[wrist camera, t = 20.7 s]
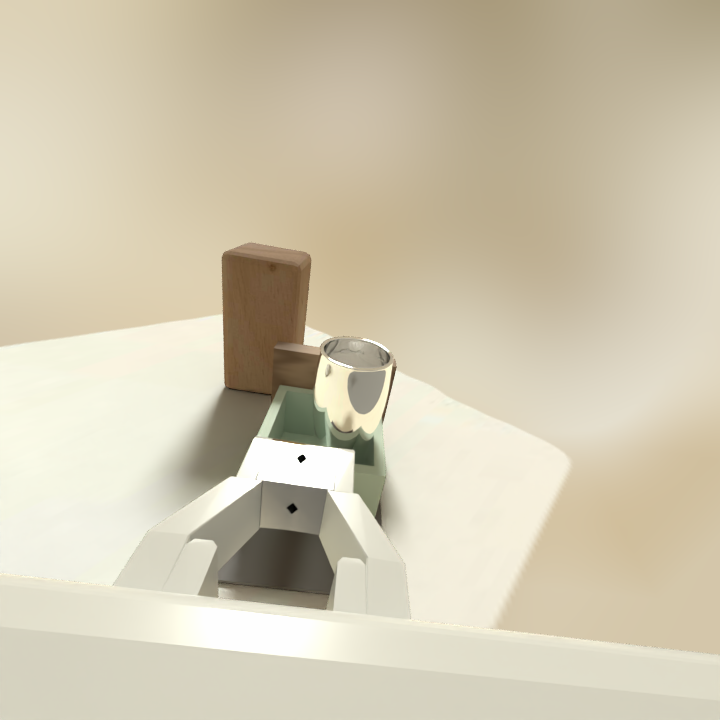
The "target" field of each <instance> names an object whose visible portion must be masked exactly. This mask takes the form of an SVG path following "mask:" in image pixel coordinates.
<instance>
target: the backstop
mask: <svg viewBox="0 0 720 720" xmlns="http://www.w3.org/2000/svg"><path fill="white" fill-rule="evenodd" d="M319 353H320V347H313V346H307V345H301V344H294V343H288V342H281V341H278V342H277V344H276V345H275V347H274V357H273V375H272V394H271V404H272V402H273V399H274V397H275V395H276V393H277V390H278V388H279V386H280V385H284V386H291V387H297V388H304V389H311V390H313V384H314V378H315V372H316V367H317V362H318V358H319ZM395 371H396V361H395V359H394V361H393V364H392V371H391V379H390V385H389V391H388V396H387V400H386V404H385V408H384V411H383V414H382V425H383V421H384V417H385V413H386V408H387V404H388V400H389V396H390V392H391V388H392V384H393V380H394V376H395ZM375 519H376V521H377V522H378V524H379V525H380V527H381V510H380V501H379V504H378V508H377V512H376V515H375ZM334 575H335V574H334V572H333V569H332V567H331V565H330V562H329V560H328V557H327V555H326V552H325V550H324V547H323V545H322V543H321V540H320V538H319V535H316V534H310V533H303V532H297V531H291V530H282V529H272V528H262V527H259V530H258V531H257V532H256V533H255V534H254V535H253V536H252V537H251V538H250V539H249V540H248V541H247V542H246V543H245V544H244V545H243V546H242V547H241V548H240V549H239V550H238V551H237V552H236V553H235V554H234V555H233V556H232V557H231V558H230V559H229V560H228V561H227V562H226V563H225V564H224V565H223V567H222V568H221V569H220V570H219V571H218V582H222V583H231V584H240V585H248V586H257V587H266V588H275V589H284V590H293V591H302V592H311V593H320V594H329V595H330V591H331V587H332V583H333V579H334Z"/></svg>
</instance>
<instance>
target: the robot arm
mask: <svg viewBox="0 0 720 720" xmlns="http://www.w3.org/2000/svg"><path fill="white" fill-rule="evenodd" d="M354 465H355V451H354V450H350V449H342V448H338V449H337V448H333V447H326V446H319V445H312V444H304V443H298V442H293V441H287V440H281V439H275V438H273V439H272V438H267V437H261V436H255V437H254V439H253V440H252V442H251V445H250V447H249V449H248V451H247V453H246V456H245V458H244V460H243V462H242V464H241V466H240V469H239V471H238V473H237V475H236V477H232V476H230V477H229V478H227V479H226V480H224V481H223V482H221V483H219V484H218V485H216V486H215V487H213V488H212V489H210V490H209V491H207V492H206V493H204V494H203V495H201V496H200V497H198V498H197V499H195V500H194V501H192V502H191V503H189V504H188V505H186V506H185V507H183V508H182V509H180V510H178V511H177V512H175V513H174V514H172V515H171V516H169V517H168V518H166V519H165V520H163V521H162V522H160V523H159V524H157V525H156V526H154V527H153V528H151V529H150V530H148V531H147V533H146V534H145V536H144V537H143V539H142V541H141V542H140V544H139V545H138V547H137V548H136V550H135V551H134V553H133V554H132V556H131V558H130V559H129V561H128V562H127V564H126V565H125V567H124V568H123V570H122V571H121V573H120V574H119V576H118V578H117V579H116V581H115V582H114V584H113V585H112V586H110V585H101V584H92V583H83V582H75V581H66V580H57V579H48V578H39V577H31V576H22V575H13V574H4V573H0V720H720V655H718V654H709V653H700V652H691V651H682V650H674V649H665V648H655V647H647V646H638V645H630V644H620V643H612V642H603V641H594V640H586V639H577V638H568V637H559V636H550V635H541V634H532V633H524V632H514V631H506V630H498V629H489V628H480V627H471V626H462V625H454V624H445V623H436V622H427V621H419V620H411V614H410V604H409V595H408V586H407V576H406V567H405V563H404V561H403V560H402V558H401V557H400V555H399V554H398V552H397V551H396V549H395V548H394V546H393V545H392V543H391V542H390V540H389V539H388V537H387V536H386V534H385V533H384V531H383V530H382V528H381V527H380V525H379V524H378V522H377V521H376V519H375V518H374V516H373V515H372V514H371V512H370V511H369V509H368V508H367V506H366V505H365V503H364V502H363V500H362V499H361V497H360V496H359V494H355V493H353V491H354ZM259 527H262V528H272V529H282V530H291V531H297V532H303V533H310V534H316V535H319V538H320V540H321V543H322V545H323V547H324V550H325V552H326V555H327V557H328V560H329V562H330V565H331V567H332V569H333V572H334V574H335V575H334V579H333V583H332V587H331V591H330V595H329V599H328V603H327V607H326V610H321V609H313V608H304V607H295V606H286V605H277V604H268V603H260V602H251V601H242V600H233V599H224V598H218V571H219V570H220V569H221V568H222V567H223V565H224V564H225V563H226V562H227V561H228V560H229V559H230V558H231V557H232V556H233V555H234V554H235V553H236V552H237V551H238V550H239V549H240V548H241V547H242V546H243V545H244V544H245V543H246V542H247V541H248V540H249V539H250V538H251V537H252V536H253V535H254V534H255V533H256V532H257V531H258V530H259Z"/></svg>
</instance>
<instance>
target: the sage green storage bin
mask: <svg viewBox="0 0 720 720" xmlns="http://www.w3.org/2000/svg"><path fill="white" fill-rule="evenodd" d="M312 394H313V390H311V389H304V388H297V387H291V386H284V385H280V386H279V388H278V390H277V393H276V395H275V397H274V399H273V402H272V404H271V406H270V408H269V410H268V413H267V415H266V417H265V419H264V421H263V424H262V426H261V428H260V430H259V432H258V435H257V436H261V437H267V438H272V439H273V438H275V439H281V440H287V441H293V442H298V443H304V444H312V445H314V444H315V440H314V427H313V415H312ZM385 479H386V467H385V454H384V440H383V426H382V417H381V419H380V422H379V424H378V426H377V428H376V431H375V433H374V435H373V437H372V439H371V441H370V443H369V445H368V448H367V450H366V453H365V456H364V465H360V464H355V465H354V491H353V493H355V494H359V496H360V497H361V499H362V500H363V502H364V503H365V505H366V506H367V508H368V509H369V511H370V512H371V514H372V515H373V516H374V518H375V515H376V512H377V508H378V504H379V501H380V497H381V493H382V490H383V486H384V482H385Z"/></svg>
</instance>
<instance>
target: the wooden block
mask: <svg viewBox="0 0 720 720" xmlns="http://www.w3.org/2000/svg"><path fill="white" fill-rule="evenodd" d="M310 269H311V258H310V255H309V254H307V253H306V252H302V251H296V250H290V249H284V248H278V247H273V246H267V245H261V244H256V243H247V244H244V245H241V246H239V247H236V248H234V249H231V250H229V251H226V252H224V253H223V256H222V287H223V289H222V290H223V335H224V379H225V385H226V387H228V388H232V389H239V390H245V391H252V392H259V393H265V394H272V375H273V357H274V347H275V345H276V344H277V342H278V341H281V342H288V343H294V344H301V345H303V342H304V331H305V321H306V311H307V300H308V290H309V279H310Z"/></svg>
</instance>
